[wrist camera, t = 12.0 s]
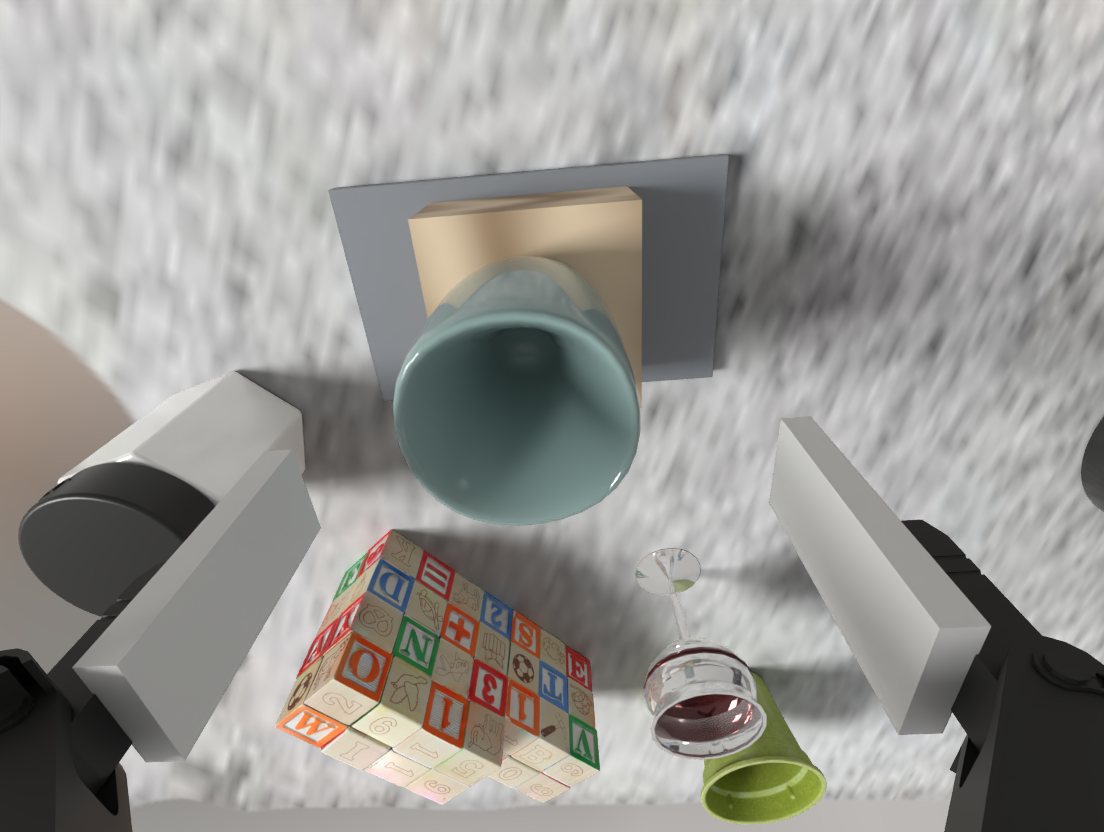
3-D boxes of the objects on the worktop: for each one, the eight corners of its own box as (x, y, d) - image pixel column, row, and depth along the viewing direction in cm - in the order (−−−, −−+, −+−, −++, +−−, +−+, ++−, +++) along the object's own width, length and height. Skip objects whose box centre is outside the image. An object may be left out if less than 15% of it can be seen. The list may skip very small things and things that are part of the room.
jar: (165, 359, 33) (-17, 475, 22) (303, 379, 33) (190, 500, 23) (188, 478, 37) (46, 622, 26) (310, 494, 38) (218, 640, 27)
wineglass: (611, 594, 42) (632, 750, 32) (642, 530, 39) (676, 681, 29) (690, 610, 43) (736, 767, 33) (727, 550, 40) (790, 702, 30)
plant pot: (798, 697, 49) (844, 803, 42) (705, 731, 52) (733, 837, 44) (757, 641, 45) (799, 746, 38) (659, 681, 48) (680, 787, 40)
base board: (722, 154, 27) (728, 155, 26) (707, 370, 33) (712, 376, 32) (335, 188, 28) (328, 190, 27) (387, 393, 34) (383, 400, 33)
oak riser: (626, 186, 27) (642, 199, 23) (628, 367, 32) (641, 407, 27) (430, 202, 27) (407, 219, 23) (461, 380, 32) (448, 421, 28)
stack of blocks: (592, 658, 47) (606, 821, 36) (542, 690, 49) (541, 853, 38) (390, 526, 39) (330, 681, 28) (342, 571, 41) (269, 731, 31)
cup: (469, 407, 27) (431, 543, 19) (424, 254, 24) (351, 335, 15) (620, 382, 27) (654, 511, 18) (599, 221, 23) (629, 286, 14)
